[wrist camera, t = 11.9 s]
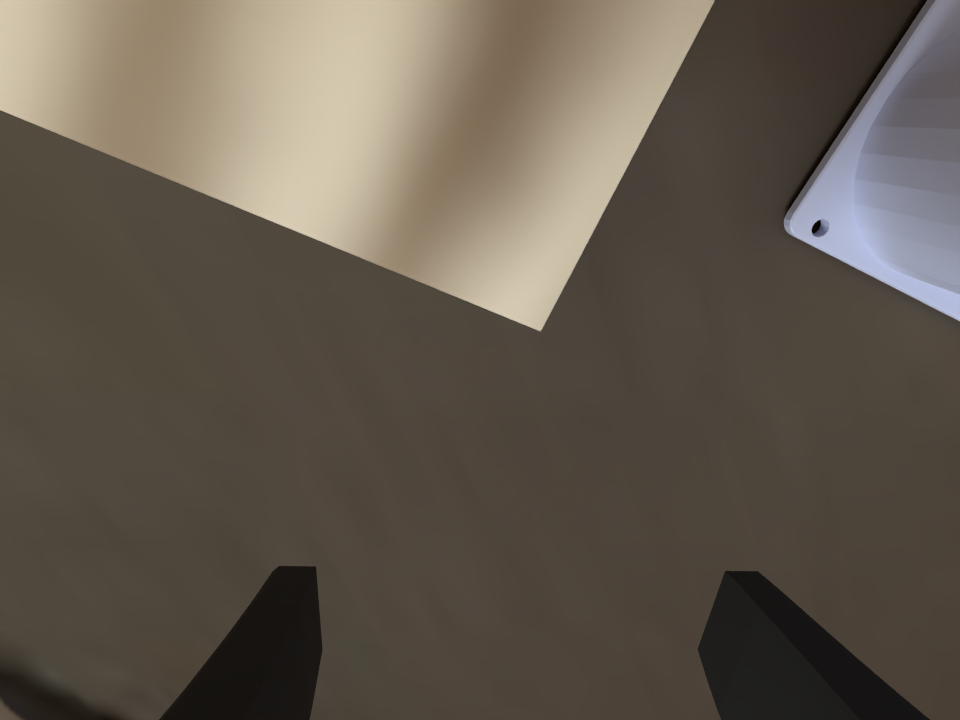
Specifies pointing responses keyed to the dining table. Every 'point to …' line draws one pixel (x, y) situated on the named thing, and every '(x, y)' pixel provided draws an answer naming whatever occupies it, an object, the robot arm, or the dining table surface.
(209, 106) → the socket block
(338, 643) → the dining table surface
